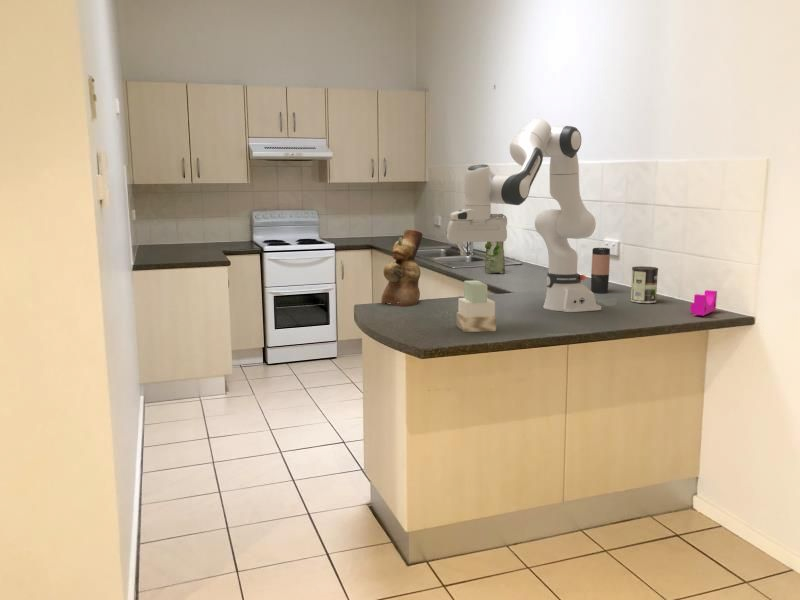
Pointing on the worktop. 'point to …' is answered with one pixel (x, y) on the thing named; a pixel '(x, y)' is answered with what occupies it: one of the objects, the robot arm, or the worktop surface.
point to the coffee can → (644, 284)
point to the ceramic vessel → (403, 272)
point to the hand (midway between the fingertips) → (476, 255)
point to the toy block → (704, 303)
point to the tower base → (476, 323)
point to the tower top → (476, 308)
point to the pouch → (495, 259)
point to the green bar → (475, 291)
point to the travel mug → (600, 270)
